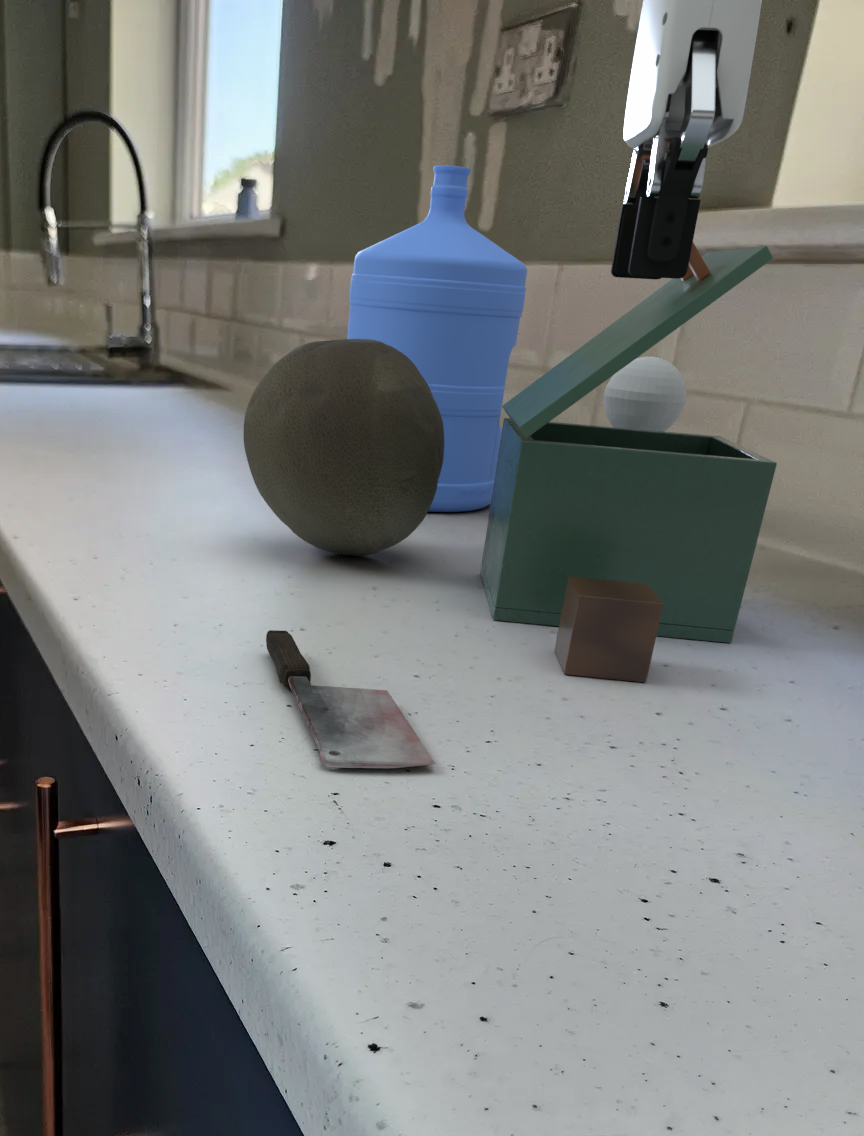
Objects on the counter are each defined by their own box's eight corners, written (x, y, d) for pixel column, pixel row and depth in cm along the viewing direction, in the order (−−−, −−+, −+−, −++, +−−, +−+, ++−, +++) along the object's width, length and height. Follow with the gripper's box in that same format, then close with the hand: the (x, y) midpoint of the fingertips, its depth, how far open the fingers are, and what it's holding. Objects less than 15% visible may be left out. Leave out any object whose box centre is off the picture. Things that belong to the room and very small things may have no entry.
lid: (714, 262, 72) (671, 187, 70) (774, 258, 60) (723, 168, 59) (508, 415, 77) (463, 348, 75) (527, 438, 66) (475, 359, 64)
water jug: (421, 520, 99) (468, 155, 87) (297, 488, 109) (324, 158, 97) (525, 506, 109) (580, 177, 97) (403, 479, 119) (439, 177, 107)
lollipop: (604, 545, 94) (642, 353, 88) (665, 560, 90) (710, 361, 84) (559, 551, 91) (595, 352, 84) (621, 567, 87) (664, 359, 80)
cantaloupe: (345, 528, 93) (365, 332, 86) (469, 568, 83) (501, 350, 76) (203, 540, 85) (213, 326, 79) (320, 586, 75) (343, 344, 69)
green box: (684, 592, 81) (721, 436, 76) (731, 643, 69) (777, 462, 65) (480, 573, 82) (503, 417, 77) (493, 620, 70) (521, 440, 66)
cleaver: (439, 754, 47) (322, 753, 46) (435, 777, 47) (319, 777, 47) (354, 629, 61) (263, 627, 60) (351, 648, 62) (261, 646, 61)
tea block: (631, 658, 65) (647, 583, 63) (646, 683, 61) (664, 603, 59) (554, 651, 65) (567, 575, 63) (563, 674, 61) (579, 595, 59)
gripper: (843, -157, 51) (750, 280, 59) (741, -54, 67) (678, 282, 74) (675, -161, 52) (605, 272, 60) (613, -58, 67) (563, 276, 75)
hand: (646, 274), depth 67 cm, fingers closed on lid, 5 cm apart
